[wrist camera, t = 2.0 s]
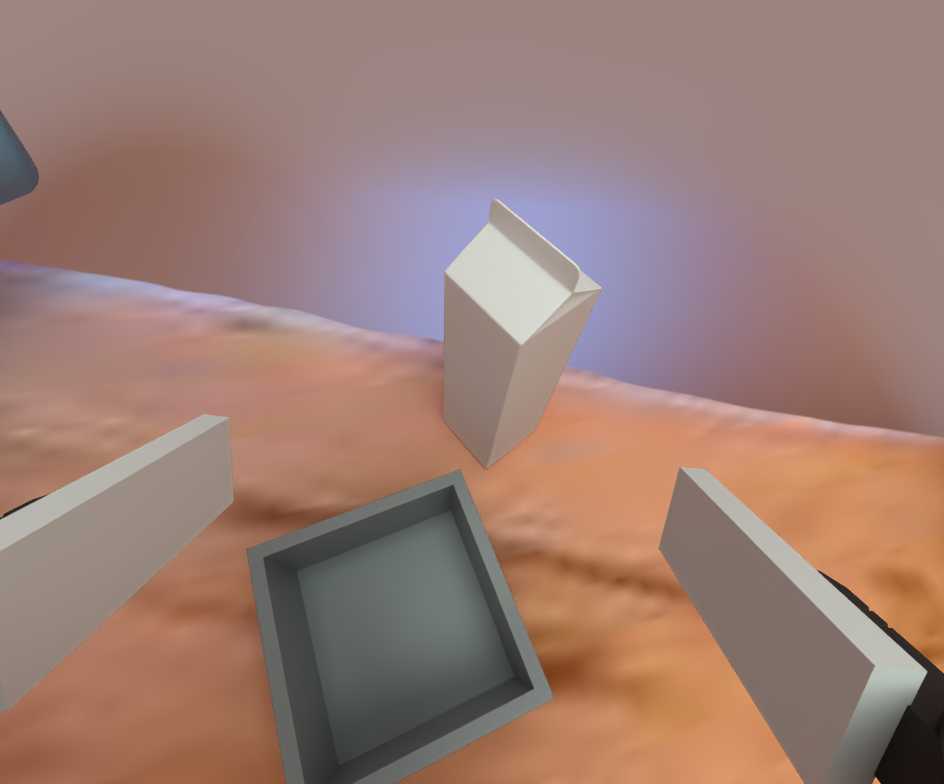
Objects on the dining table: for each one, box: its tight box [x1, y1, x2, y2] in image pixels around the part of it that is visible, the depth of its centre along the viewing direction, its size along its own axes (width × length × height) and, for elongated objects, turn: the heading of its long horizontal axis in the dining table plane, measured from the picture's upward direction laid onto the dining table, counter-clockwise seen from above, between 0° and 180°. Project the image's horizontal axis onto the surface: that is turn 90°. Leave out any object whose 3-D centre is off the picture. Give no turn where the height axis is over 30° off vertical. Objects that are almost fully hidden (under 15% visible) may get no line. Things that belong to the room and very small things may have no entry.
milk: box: [443, 199, 602, 469], centre depth 30 cm, size 6×6×22 cm
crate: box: [246, 470, 554, 784], centre depth 28 cm, size 14×14×8 cm
